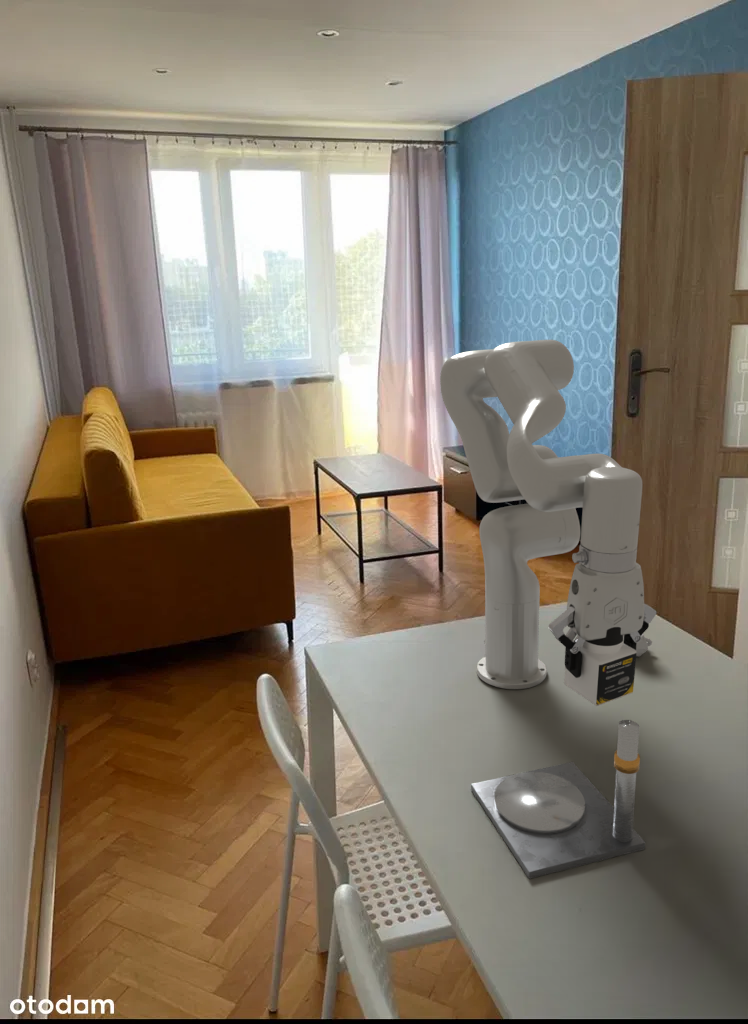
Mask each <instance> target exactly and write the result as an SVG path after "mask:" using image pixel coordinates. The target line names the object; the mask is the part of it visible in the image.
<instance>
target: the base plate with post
mask: <svg viewBox="0 0 748 1024" xmlns="http://www.w3.org/2000/svg"><path fill="white" fill-rule="evenodd" d="M639 737H640V724H639V723H638V722H636V721H634V720H631V719H622V720H620V721H619V722H618V730H617V745H616V746H617V749H616V750H614V756H613V767H614V768H615V783H614V784H615V785H614V798H613V799H614V802H613V805H612V804H611V803H610V802H609V800H608V799H606V797H605V796H604V795H603V794H602V793H601V792H600V790H599V789H598V788H597V787H596V786H595V785H594V784H593V783H592V782H591V781H590V780H589V779H588V777H587V776H586V775H585V774H584V773H583V772H582V771H581V769H580V768H579V767H578V766H577V765H576V764H575V763H574V762H573V761H571V762H570V761H569V762H565V763H561V764H555V765H551V766H546V767H542V768H538V769H533V770H528V771H525V772H519V773H515V774H510V775H506V776H502V777H500V776H499V777H497V778H491V779H488V780H487V779H486V780H483V781H478V782H474V783H470V787H471V789H470V791H471V792H472V793H473V794H474V797H475V798H476V799H477V801H478V802H479V804H480V806H481V807H482V809H483V810H484V811H485V813H486V815H487V816H488V818H489V819H490V821H491V822H492V824H493V826H494V828H495V829H496V830H497V832H498V833H499V835H500V836H501V838H502V839H503V842H504V843H505V844H506V846H507V847H508V848H509V850H510V852H511V853H512V855H513V857H514V858H515V859H516V861H517V862H518V864H519V866H520V867H521V868H522V870H523V872H524V873H525V875H526V876H527V878H528V879H533V878H537V877H541V876H545V875H549V874H552V873H556V872H560V871H565V870H568V869H573V868H576V867H579V866H584V865H588V864H592V863H595V862H600V861H603V860H608V859H612V858H615V857H619V856H623V855H627V854H631V853H635V852H639V851H642V850H643V851H644V850H646V841H645V840H644V839H643V838H642V836H640V835H639V834H638V833H637V832H636V830H635V829H634V815H635V814H634V813H635V798H636V783H637V773H638V772H639V771H640V763H641V756H640V755H641V754H639V739H640V738H639Z"/></svg>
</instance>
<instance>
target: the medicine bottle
mask: <svg viewBox="0 0 748 1024" xmlns="http://www.w3.org/2000/svg"><path fill="white" fill-rule="evenodd" d="M574 640H575V639H574ZM574 640H573V641H572V642H574ZM579 651H580V652H581V653H582V669H581V676H580V677H579V678H575V677H574V676H573V675H572V674H571V673H570V672H569V671H568V670H567V669H566V667H565V666H564V678H563V680H564V682H563V683H564V685H565V686H566V687H568V688H569V689H571V690H572V691H574V692H575V693H577V694H578V695H580V697H583V699H585V700H586V701H588V702H590V703H591V704H592V705H594V706H596V707H598V706H602V705H604V704H607V703H610V702H612V701H613V702H614V701H616V700H618V699H620V698H622V697H626V696H629V695H631V694H633V693H634V687H635V686H634V684H635V683H634V682H635V676H636V675H635V674H636V662H637V656H636V653H637V652H636V650H635V649H633V648H631V647H629V646H628V645H626V644H624V635H621V628H620V627H613V628H610V629H608V630H607V632H606V637H605V638H602V639H596V640H585V642H584V643H583V645H582V647H581V648H580V650H579Z"/></svg>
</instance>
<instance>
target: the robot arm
mask: <svg viewBox="0 0 748 1024" xmlns="http://www.w3.org/2000/svg"><path fill="white" fill-rule="evenodd" d="M574 370H575V365H574V359H573V356H572V354H571V352H570V350H569V349H568V347H566V345H565V344H563V343H562V342H560V341H559V340H555V339H539V340H538V339H537V340H523V341H520V340H519V341H509V342H506V343H502V344H500V345H498V346H496V347H495V348H492V349H490V348H489V349H477V350H470V351H464V352H459V353H457V354H454V355H452V356H450V357H448V358H447V359H446V361H445V362H444V363H443V365H442V367H441V369H440V377H439V379H440V381H439V383H440V391H441V392H440V393H441V398H442V402H443V404H444V406H445V410H446V411H447V413H448V416H449V418H450V419H451V421H452V422H453V424H454V426H455V428H456V430H457V432H458V434H459V436H460V440H461V442H462V445H463V449H464V453H465V457H466V460H467V465H468V468H469V471H470V474H471V478H472V481H473V482H472V483H473V485H474V488H475V491H476V493H477V495H478V497H479V498H480V499H481V500H482V501H483V502H486V503H490V504H491V503H493V504H494V503H496V504H497V503H504V502H505V503H506V502H513V501H514V502H515V501H521V500H522V501H523V500H525V501H526V503H524V504H523V503H521V504H517V505H516V504H514V505H508V506H504V507H503V506H502V507H499V508H496V509H493V510H490V511H489V512H487V514H485V515H484V516H483V517H482V519H481V521H480V524H479V541H480V545H481V546H480V547H481V550H482V551H481V552H482V556H483V565H484V580H485V581H484V587H485V588H484V599H485V601H484V602H485V603H484V607H485V609H484V617H485V619H484V622H485V624H484V627H485V628H484V633H485V634H484V640H483V644H484V646H485V647H484V648H485V649H484V655H485V656H483V657H482V658H481V659H480V660H478V661H477V664H476V673H477V677H479V678H480V680H482V681H483V682H485V683H486V684H487V685H490V686H493V687H496V688H500V689H506V690H523V689H529V688H534V687H535V686H538V685H540V684H541V683H542V682H543V681H544V680H545V679H546V678H547V673H548V670H547V665H546V664H545V663H544V662H543V661H542V660H541V659H539V645H540V643H539V642H540V641H539V639H540V638H539V636H540V634H539V633H540V631H539V630H540V597H541V596H540V594H541V593H540V589H541V588H540V581H539V579H538V576H537V575H536V573H535V572H534V571H533V570H532V569H531V568H530V566H529V565H528V561H529V560H534V559H537V558H543V557H550V556H555V555H561V554H566V553H569V552H571V551H573V550H574V549H575V548H576V547H577V546H578V544H579V541H580V544H579V550H578V552H573V553H572V555H571V556H572V557H571V558H572V562H573V563H574V564H575V566H574V568H573V569H574V570H573V572H572V576H571V580H570V585H569V589H568V590H569V591H568V595H567V603H566V604H567V605H566V610H565V611H563V613H561V614H559V616H558V617H556V618H555V619H554V620H553V621H551V622H550V623H549V624H548V629H549V631H550V632H551V634H552V635H553V636H554V638H555V639H556V640H557V641H558V642H559V643H561V645H562V646H564V649H565V651H564V668H565V667H566V669H567V670H568V671H569V672H570V673H571V674H572V675H573V676H574V677H575V678H579V677H580V676H581V669H582V653H581V652H580V651H579V650H580V648H581V647H582V645H583V643H584V642H585V640H596V639H602V638H605V637H606V632H607V630H608V629H610V628H613V627H620V628H621V635H624V644H626V645H628V646H629V647H631V648H633V649H635V650H636V644H637V643H638V642H639V641H640V640H641V635H642V634H643V633H645V632H646V631H647V630H648V629H649V626H650V625H649V624H650V623H652V622H653V620H654V618H655V617H656V615H657V611H656V609H655V608H652V607H651V606H650V605H648V604H647V603H645V588H644V577H643V570H642V567H641V564H640V563H638V562H637V553H638V543H639V533H640V520H641V509H642V507H641V506H642V497H643V496H642V495H643V478H642V476H640V474H639V473H638V472H636V471H634V470H633V469H630V468H626V467H622V466H621V465H620V464H619V463H618V462H617V461H616V460H615V459H613V458H612V457H610V456H609V455H606V454H604V453H588V454H580V455H567V456H560V457H559V456H558V455H557V454H556V452H555V451H553V449H551V448H550V447H548V446H546V445H542V444H534V443H536V442H537V441H538V440H539V439H541V438H543V437H545V436H546V435H549V434H550V433H551V432H552V431H553V430H554V429H556V428H557V427H558V425H560V424H561V422H562V420H563V419H564V417H565V414H566V412H567V411H566V410H567V404H566V401H565V399H564V397H563V395H562V394H561V393H560V390H563V389H564V388H566V387H567V386H568V385H569V384H570V382H572V379H573V376H574V373H575V372H574ZM486 398H487V399H488V398H497V399H498V401H499V402H500V403H501V406H502V407H503V409H504V410H505V412H506V414H507V416H508V418H510V420H511V422H512V425H513V426H512V428H511V430H510V431H509V428H508V425H507V423H506V421H505V419H503V417H502V416H501V415H500V414H499V413H498V412H497V410H496V409H494V408H493V407H492V406H490V405H489V404H488V403H486V402H485V401H484V399H486ZM577 508H578V509H579V508H582V515H581V524H580V519H579V515H578V512H577V510H576V509H577ZM566 627H568V628H569V629H568V631H567V632H566V633H565V632H564V629H565V628H566ZM573 640H574V642H572V641H573Z"/></svg>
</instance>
